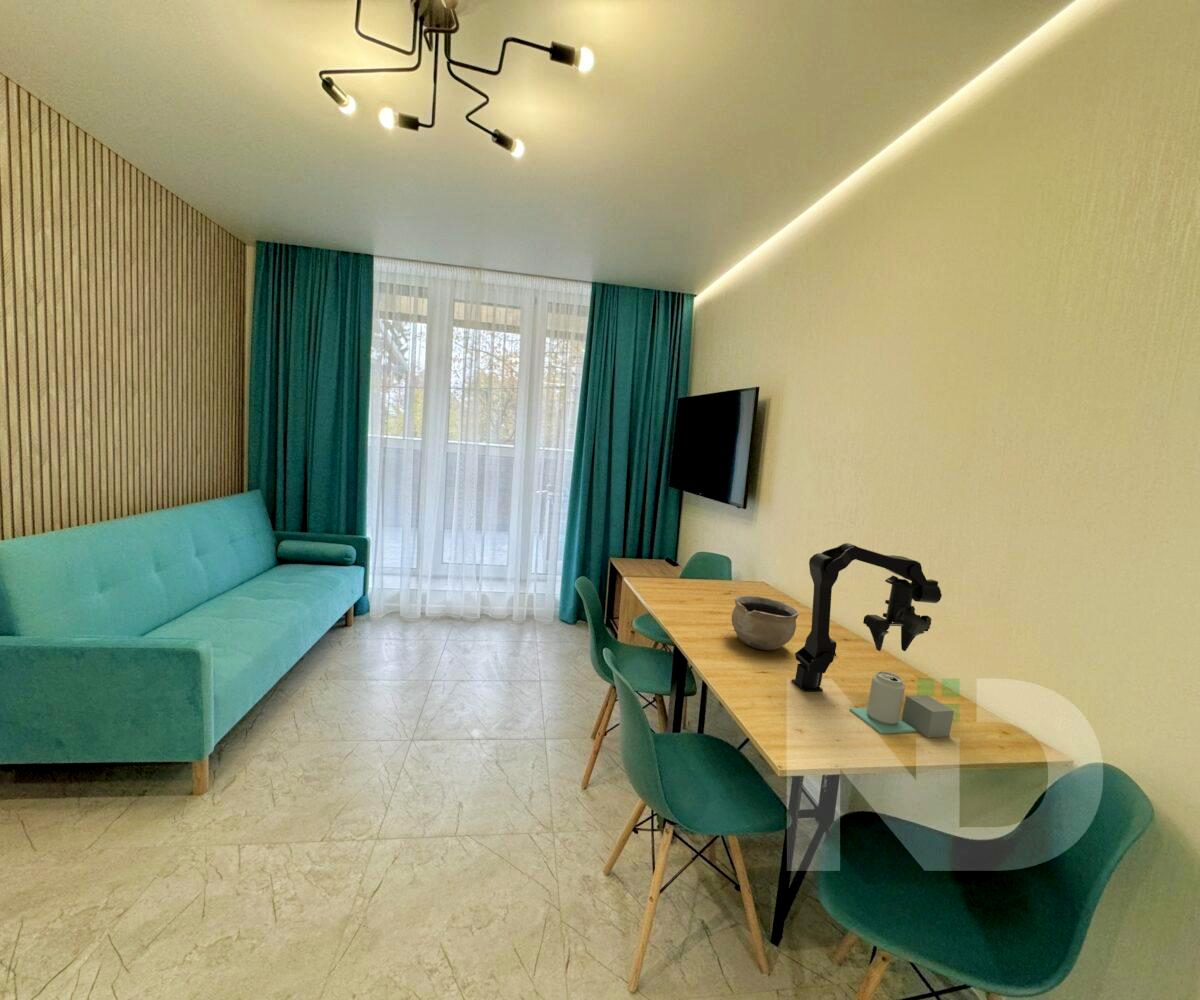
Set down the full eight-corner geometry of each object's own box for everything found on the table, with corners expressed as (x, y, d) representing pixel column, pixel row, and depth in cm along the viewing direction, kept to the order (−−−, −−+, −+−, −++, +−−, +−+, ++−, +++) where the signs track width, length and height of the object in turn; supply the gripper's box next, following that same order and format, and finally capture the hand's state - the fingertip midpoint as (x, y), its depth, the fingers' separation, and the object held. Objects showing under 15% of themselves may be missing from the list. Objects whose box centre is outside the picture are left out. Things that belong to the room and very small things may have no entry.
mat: (880, 733, 127) (881, 731, 127) (849, 710, 138) (849, 708, 138) (915, 732, 130) (916, 729, 130) (882, 709, 141) (882, 707, 141)
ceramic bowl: (715, 634, 185) (721, 595, 183) (761, 631, 194) (767, 593, 193) (758, 661, 165) (765, 616, 163) (806, 655, 174) (813, 613, 173)
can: (897, 730, 129) (906, 685, 128) (865, 719, 133) (872, 675, 131) (898, 718, 135) (906, 675, 134) (866, 708, 139) (874, 666, 138)
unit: (927, 737, 128) (932, 710, 127) (901, 720, 136) (906, 694, 135) (950, 736, 130) (955, 710, 129) (923, 719, 138) (928, 694, 137)
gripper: (897, 608, 139) (886, 662, 141) (950, 610, 144) (939, 662, 146) (866, 595, 150) (857, 646, 152) (916, 597, 155) (907, 646, 156)
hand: (891, 650), depth 151 cm, fingers open, 9 cm apart
